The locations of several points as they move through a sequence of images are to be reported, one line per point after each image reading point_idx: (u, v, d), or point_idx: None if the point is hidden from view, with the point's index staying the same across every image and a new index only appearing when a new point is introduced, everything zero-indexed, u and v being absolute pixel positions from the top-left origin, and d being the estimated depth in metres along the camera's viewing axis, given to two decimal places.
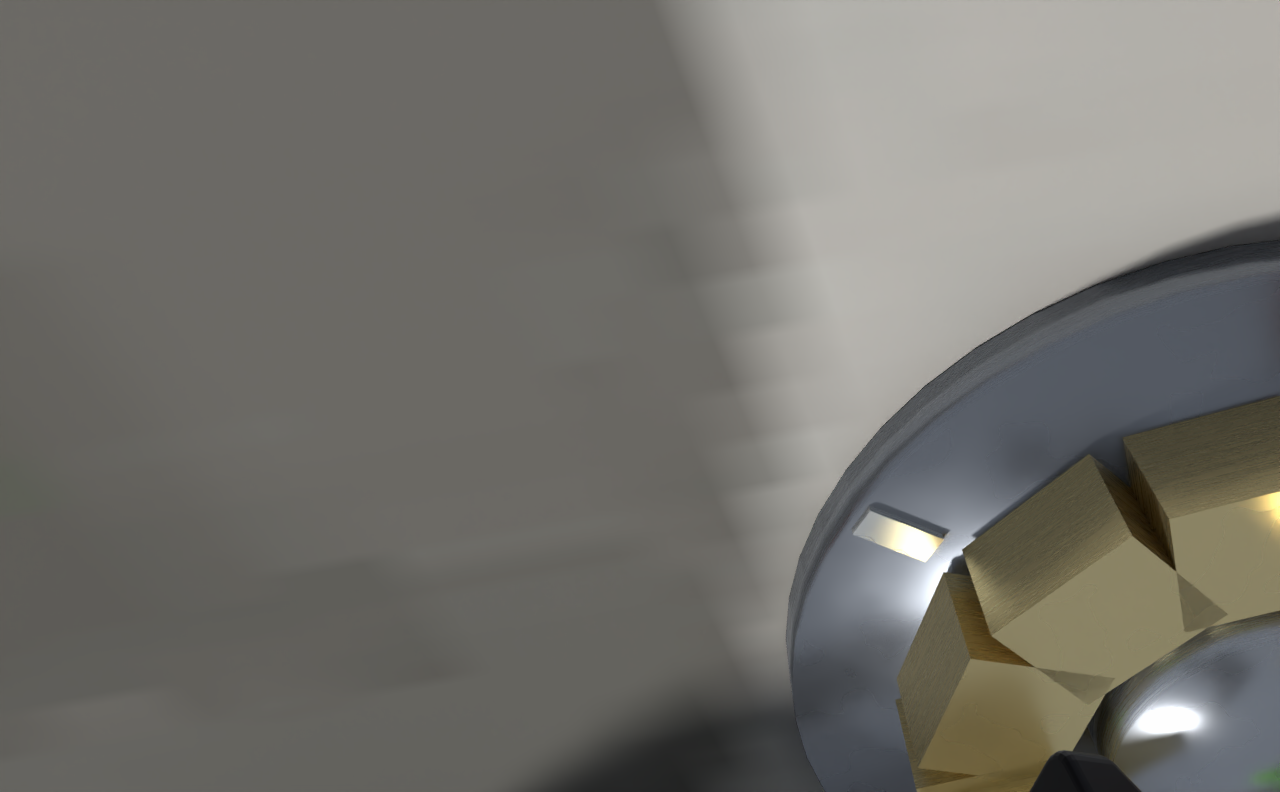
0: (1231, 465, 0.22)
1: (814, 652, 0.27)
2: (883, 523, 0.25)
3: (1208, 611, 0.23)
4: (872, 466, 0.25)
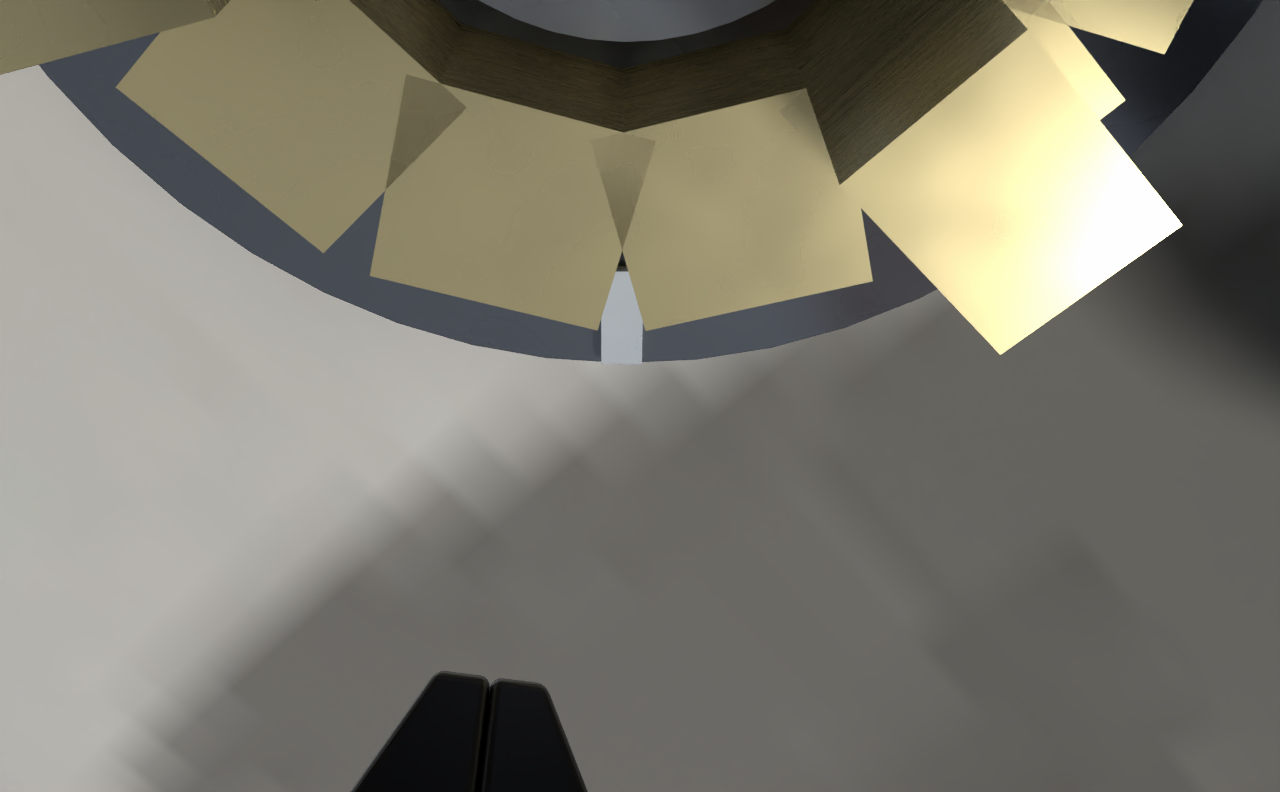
0: None
1: (851, 301, 0.20)
2: (611, 342, 0.21)
3: (416, 106, 0.16)
4: None
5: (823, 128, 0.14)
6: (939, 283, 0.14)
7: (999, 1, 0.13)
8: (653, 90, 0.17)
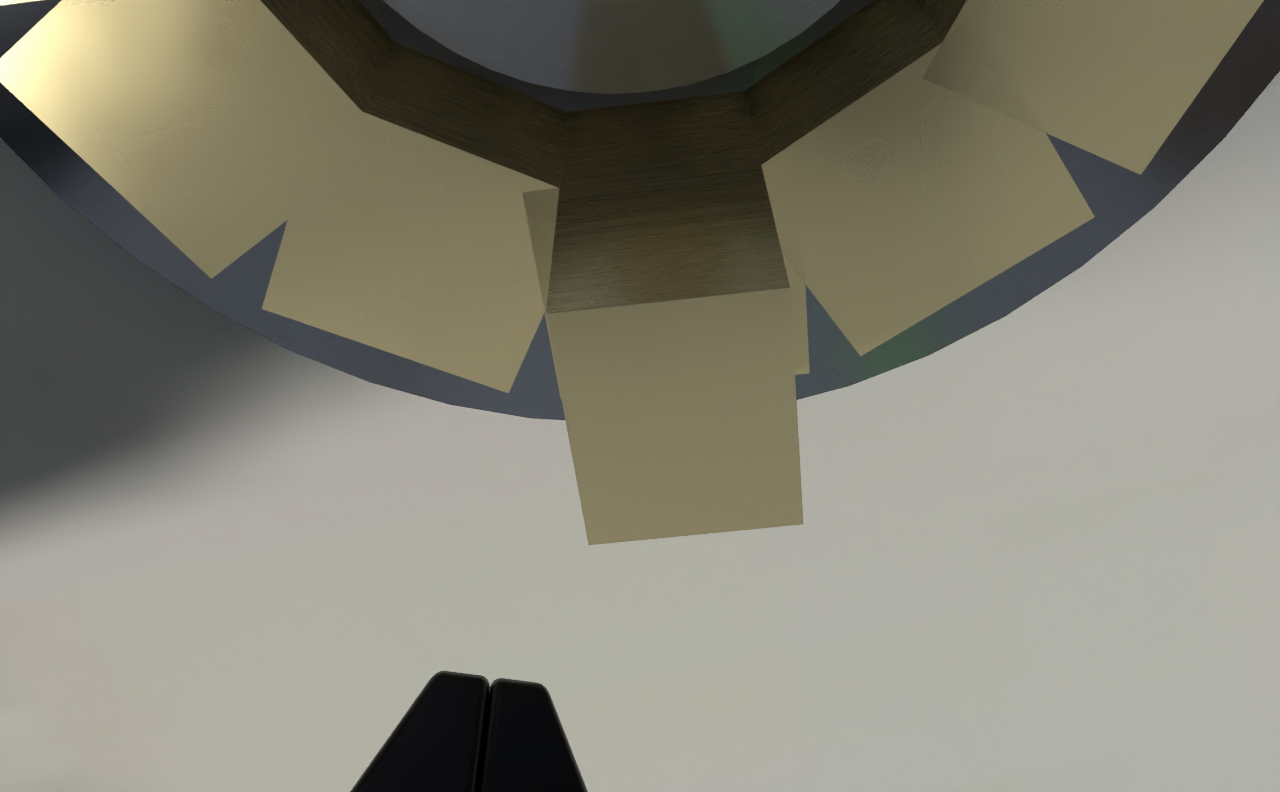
0: None
1: None
2: None
3: None
4: None
5: (557, 242, 0.13)
6: (576, 453, 0.13)
7: (776, 240, 0.13)
8: (413, 87, 0.15)
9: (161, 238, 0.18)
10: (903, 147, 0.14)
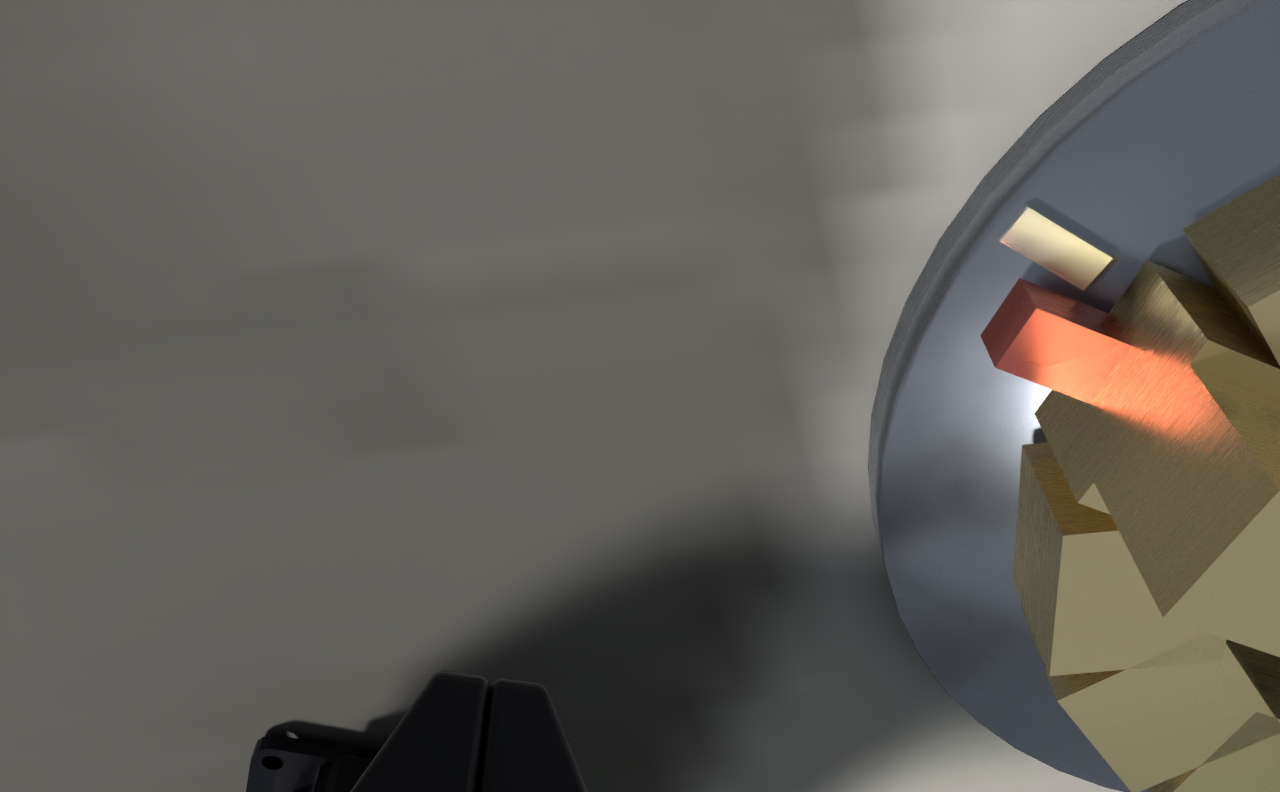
0: (1039, 579, 0.21)
1: (919, 417, 0.22)
2: (1042, 228, 0.19)
3: (1200, 645, 0.21)
4: (1028, 159, 0.20)
5: None
6: None
7: None
8: (1264, 672, 0.23)
9: (1002, 712, 0.26)
10: None
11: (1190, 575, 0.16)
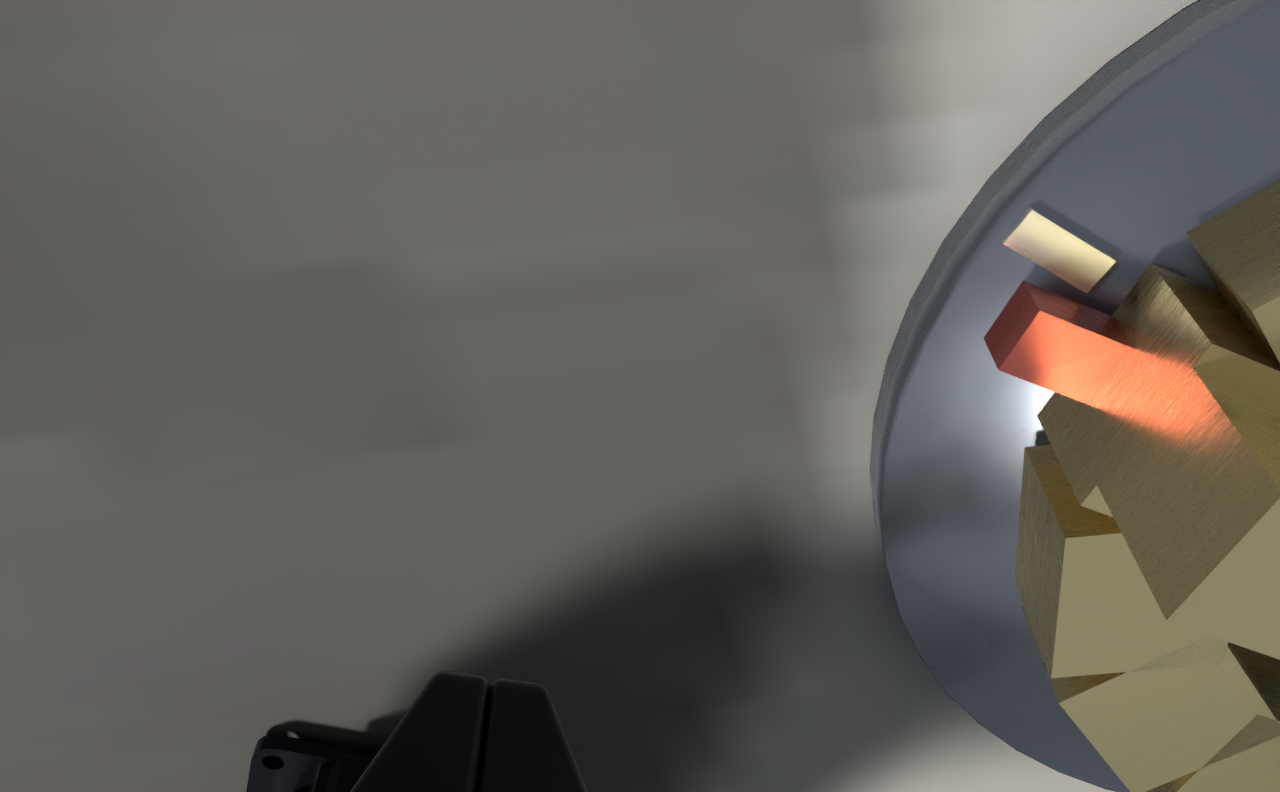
0: (1041, 581, 0.22)
1: (922, 419, 0.22)
2: (1045, 230, 0.19)
3: (1201, 647, 0.21)
4: (1032, 162, 0.20)
5: None
6: None
7: None
8: (1265, 674, 0.23)
9: (1002, 713, 0.26)
10: None
11: (1193, 578, 0.16)
